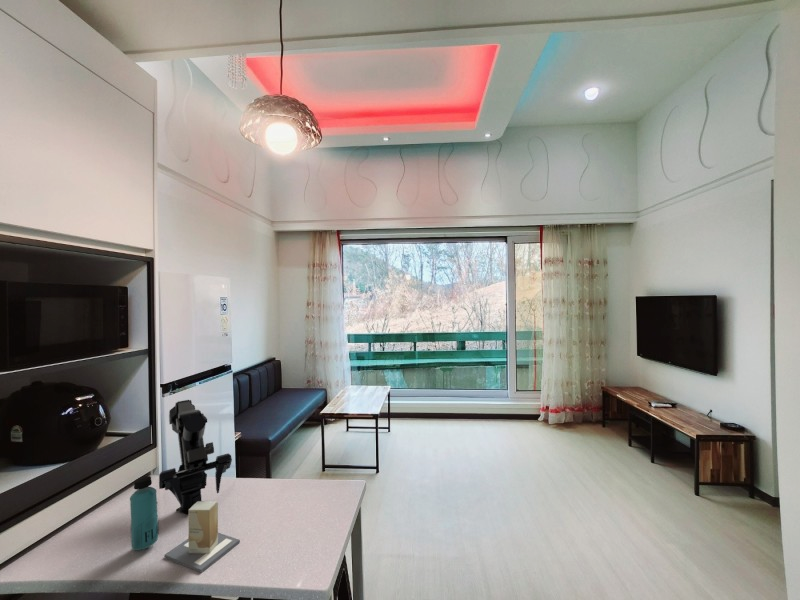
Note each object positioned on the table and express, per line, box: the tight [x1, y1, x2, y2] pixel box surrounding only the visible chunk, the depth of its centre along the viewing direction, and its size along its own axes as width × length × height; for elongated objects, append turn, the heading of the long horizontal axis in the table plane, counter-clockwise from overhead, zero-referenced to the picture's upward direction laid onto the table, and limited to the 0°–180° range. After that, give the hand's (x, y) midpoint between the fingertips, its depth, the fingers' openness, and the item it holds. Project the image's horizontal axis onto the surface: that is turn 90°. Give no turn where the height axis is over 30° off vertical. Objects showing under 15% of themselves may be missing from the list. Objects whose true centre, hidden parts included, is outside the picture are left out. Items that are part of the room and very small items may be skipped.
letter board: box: [163, 532, 241, 574], centre depth 98 cm, size 15×12×1 cm
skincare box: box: [188, 500, 219, 553], centre depth 97 cm, size 6×4×12 cm
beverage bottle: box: [129, 475, 159, 551], centre depth 99 cm, size 6×7×20 cm
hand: (200, 498), depth 100 cm, fingers open, 9 cm apart
